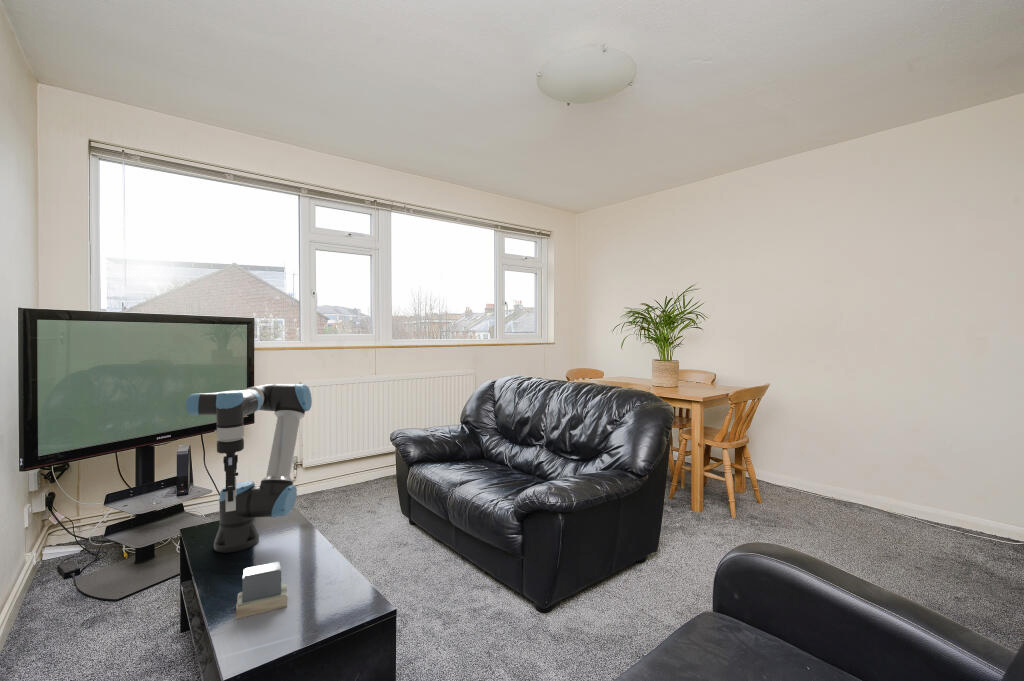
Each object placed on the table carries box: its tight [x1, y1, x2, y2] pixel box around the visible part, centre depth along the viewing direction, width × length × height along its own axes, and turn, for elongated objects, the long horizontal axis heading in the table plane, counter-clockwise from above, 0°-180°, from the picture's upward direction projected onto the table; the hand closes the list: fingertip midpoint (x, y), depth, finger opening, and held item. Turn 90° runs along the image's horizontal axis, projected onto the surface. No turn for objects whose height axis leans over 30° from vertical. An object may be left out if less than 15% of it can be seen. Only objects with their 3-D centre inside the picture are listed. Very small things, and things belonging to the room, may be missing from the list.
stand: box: [235, 582, 288, 619], centre depth 136 cm, size 8×13×4 cm, turn 118°
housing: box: [241, 561, 282, 603], centre depth 136 cm, size 10×6×7 cm, turn 118°
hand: (231, 503), depth 148 cm, fingers open, 13 cm apart
